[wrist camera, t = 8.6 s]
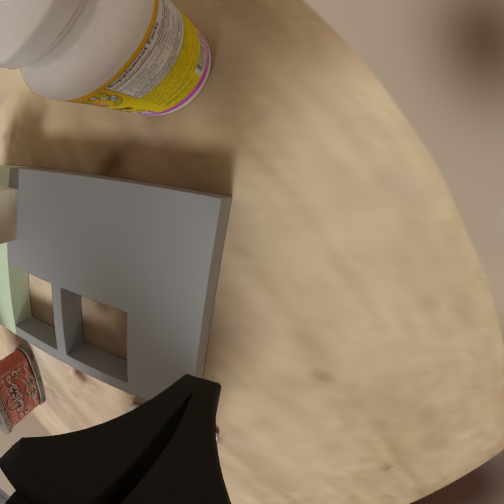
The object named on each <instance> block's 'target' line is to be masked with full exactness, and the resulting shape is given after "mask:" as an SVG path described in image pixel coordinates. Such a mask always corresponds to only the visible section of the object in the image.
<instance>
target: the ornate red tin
mask: <svg viewBox="0 0 504 504" xmlns="http://www.w3.org/2000/svg"><path fill="white" fill-rule="evenodd" d="M44 401H46V397H45V390H44V386H43V381H42V378H41V375H40V371H39V368H38V366H37V363H36V360H35V357H34V355H33V353H32V352H31V350H30V349H29V348H28V347H27V346H25V345H20V346H19V347H17V348H16V349H15V351H14V352H13V353H11V354H10V355H8V356H7V357H5V358H4V359H2V360H1V361H0V429H1V430H2V431H3V432H4V433H5V434H9V433H10V432H11V431H12V428H13V427H14V426H15V425H17V424H18V423H19V422H20V421H21V420H22V419H23V418H24V417H25V416H26V415H28V413H30V412H31V411H32V410H33V409H34V408H35V407H36V406H38V405H41V404H42V403H43V402H44Z"/></svg>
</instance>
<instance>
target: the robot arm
mask: <svg viewBox="0 0 504 504" xmlns="http://www.w3.org/2000/svg"><path fill="white" fill-rule="evenodd" d="M220 391H221V385H220V384H219V383H216V382H213V381H209V380H206V379H202V378H199V377H195V376H192V375H189V374H185V375H183V376H182V377H181V378H180V379H178V380H177V381H176V382H175V383H173V384H172V385H171V386H169V387H168V388H166V389H165V390H164V391H162V392H161V393H159V394H158V395H156V396H155V397H153V398H152V399H150V400H149V401H147V402H145V403H144V404H142V405H140V406H139V405H136V404H133V405H132V406H131V411H129V412H128V413H126V414H123V415H121V416H119V417H117V418H115V419H112V420H110V421H108V422H105V423H102V424H99V425H96V426H93V427H90V428H87V429H84V430H80V431H75V432H71V433H66V434H60V435H54V436H45V437H28V438H21V439H20V440H19V441H18V442H16V443H15V444H14V445H13V446H12V447H11V448H10V449H9V450H8V451H7V452H6V453H5V454H4V455H3V456H2V457H1V458H0V468H1V470H2V471H3V473H4V474H5V476H6V477H7V478H8V480H9V481H10V483H11V484H12V486H13V487H14V488H15V490H16V491H15V492H14V493H13V494H12V496H11V497H10V496H8V495H7V494H6V493H5V492H4V491H3V490H1V489H0V504H231V502H230V499H229V496H228V493H227V490H226V486H225V483H224V480H223V476H222V471H221V467H220V462H219V456H218V450H217V440H218V434H217V433H216V412H217V407H218V402H219V396H220Z"/></svg>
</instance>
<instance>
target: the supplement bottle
mask: <svg viewBox="0 0 504 504" xmlns="http://www.w3.org/2000/svg"><path fill="white" fill-rule="evenodd" d="M0 67H2V68H7V69H18V68H20V71H21V74H22V76H23V79H24V81H25V82H26V84H27V85H28V87H29V88H30V89H31V90H32V91H33V92H35V93H36V94H38V95H40V96H42V97H44V98H47V99H52V100H59V101H67V102H75V103H82V104H88V105H94V106H100V107H106V108H112V109H117V110H122V111H127V112H132V113H137V114H143V115H150V116H158V115H164V114H168V113H171V112H174V111H176V110H178V109H180V108H182V107H184V106H185V105H187V104H188V103H189V102H191V101H192V100H193V99H194V98H195V97H196V96H197V94H198V93H199V92H200V90H201V89H202V88H203V86H204V84H205V82H206V80H207V78H208V75H209V72H210V67H211V53H210V48H209V45H208V43H207V41H206V39H205V38H204V37H203V35H202V34H201V33H200V32H199V31H198V29H197V28H196V27H195V26H194V25H193V24H192V23H191V22H190V20H189V19H188V18H187V17H186V16H185V15H184V14H183V13H182V12H181V11H180V10H179V9H178V7H177V6H176V5H175V4H174V3H173V2H172V1H171V0H0Z"/></svg>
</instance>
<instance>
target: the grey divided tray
mask: <svg viewBox="0 0 504 504" xmlns="http://www.w3.org/2000/svg"><path fill="white" fill-rule="evenodd" d="M0 186H5V187H10V188H16V189H19V190H18V207H17V240H14V241H10V242H6V243H3V244H0V324H1V325H3V326H4V327H6V328H7V329H9V330H10V331H12V332H13V333H15V334H16V335H18V336H19V337H21V338H23V339H24V340H26V341H27V342H29V343H31V344H32V345H34V346H36V347H37V348H39V349H41V350H42V351H44V352H46V353H48V354H49V355H51V356H53V357H55V358H57V359H58V360H60V361H62V362H64V363H66V364H68V365H70V366H72V367H74V368H75V369H77V370H79V371H81V372H83V373H85V374H87V375H90V376H92V377H94V378H96V379H98V380H100V381H102V382H104V383H107V384H109V385H111V386H113V387H116V388H118V389H120V390H123V391H125V392H127V393H130V394H132V395H135V396H137V397H140V398H142V399H145V400H147V401H149V400H150V399H152V398H153V397H155V396H156V395H158V394H159V393H161V392H162V391H164V390H165V389H166V388H168V387H169V386H171V385H172V384H173V383H175V382H176V381H177V380H178V379H180V378H181V377H182V376H183V375H185V374H189V375H192V376H195V377H199V378H202V379H203V374H204V367H205V360H206V353H207V346H208V340H209V333H210V326H211V320H212V313H213V307H214V301H215V294H216V288H217V282H218V276H219V270H220V264H221V258H222V252H223V246H224V240H225V234H226V229H227V223H228V217H229V212H230V206H231V201H232V197H230V196H225V195H220V194H214V193H209V192H203V191H198V190H192V189H186V188H181V187H175V186H169V185H163V184H156V183H150V182H144V181H137V180H131V179H124V178H117V177H110V176H103V175H95V174H87V173H79V172H71V171H63V170H54V169H45V168H35V167H25V166H14V165H0ZM28 273H29V274H31V275H33V276H35V277H38V278H40V279H42V280H45V281H47V282H49V283H51V286H52V302H53V314H54V324H55V328H54V327H52V326H50V325H48V324H46V323H44V322H42V321H40V320H38V319H36V318H35V317H33V316H32V312H31V304H30V293H29V281H28ZM81 296H84V297H86V298H89V299H92V300H94V301H97V302H100V303H102V304H105V305H108V306H110V307H113V308H116V309H119V310H122V311H124V312H127V360H125V359H122V358H120V357H117V356H115V355H112V354H110V353H108V352H105V351H103V350H101V349H98V348H96V347H94V346H91V345H89V344H87V343H85V342H83V330H82V314H81Z"/></svg>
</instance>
